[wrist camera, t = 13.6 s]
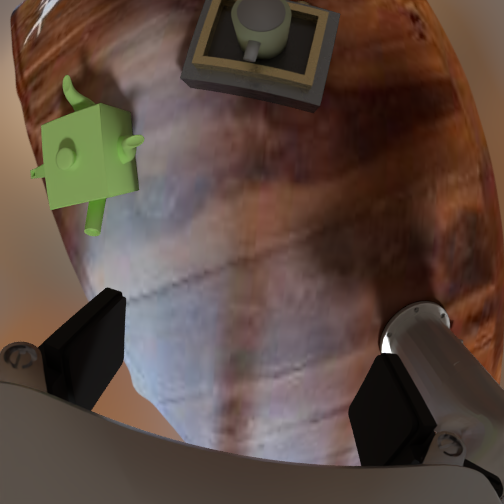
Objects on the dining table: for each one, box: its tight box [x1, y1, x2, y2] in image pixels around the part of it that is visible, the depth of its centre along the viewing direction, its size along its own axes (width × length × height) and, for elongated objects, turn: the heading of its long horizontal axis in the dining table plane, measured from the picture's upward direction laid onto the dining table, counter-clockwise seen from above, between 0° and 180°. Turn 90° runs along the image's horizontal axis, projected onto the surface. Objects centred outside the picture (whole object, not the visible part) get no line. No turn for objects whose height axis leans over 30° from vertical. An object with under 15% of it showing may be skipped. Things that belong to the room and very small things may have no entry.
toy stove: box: [180, 0, 340, 113], centre depth 30 cm, size 16×14×7 cm
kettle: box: [30, 75, 144, 236], centre depth 33 cm, size 15×14×11 cm
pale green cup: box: [231, 0, 291, 62], centre depth 25 cm, size 6×8×7 cm
